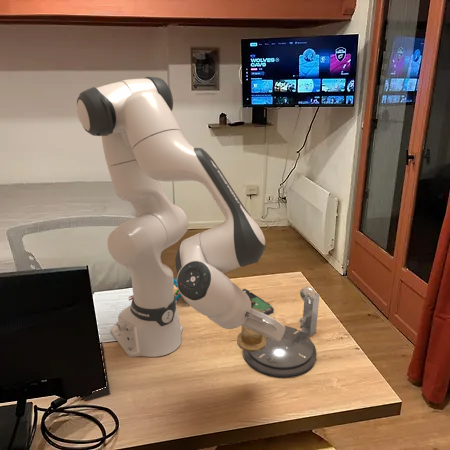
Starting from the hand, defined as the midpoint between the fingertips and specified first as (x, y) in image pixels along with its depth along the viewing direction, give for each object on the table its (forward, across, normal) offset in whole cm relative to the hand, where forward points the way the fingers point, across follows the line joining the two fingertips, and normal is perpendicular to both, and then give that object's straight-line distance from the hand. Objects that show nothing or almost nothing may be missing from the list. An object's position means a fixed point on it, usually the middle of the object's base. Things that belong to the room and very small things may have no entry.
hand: (253, 325), depth 106 cm
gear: (+28, +42, -2) cm, 50 cm away
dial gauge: (+33, 0, -7) cm, 34 cm away
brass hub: (+3, 0, +4) cm, 5 cm away
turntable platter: (+23, +2, 0) cm, 23 cm away
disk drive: (+34, +22, -8) cm, 42 cm away
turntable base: (+24, +2, +2) cm, 24 cm away
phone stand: (-4, +31, +30) cm, 43 cm away
